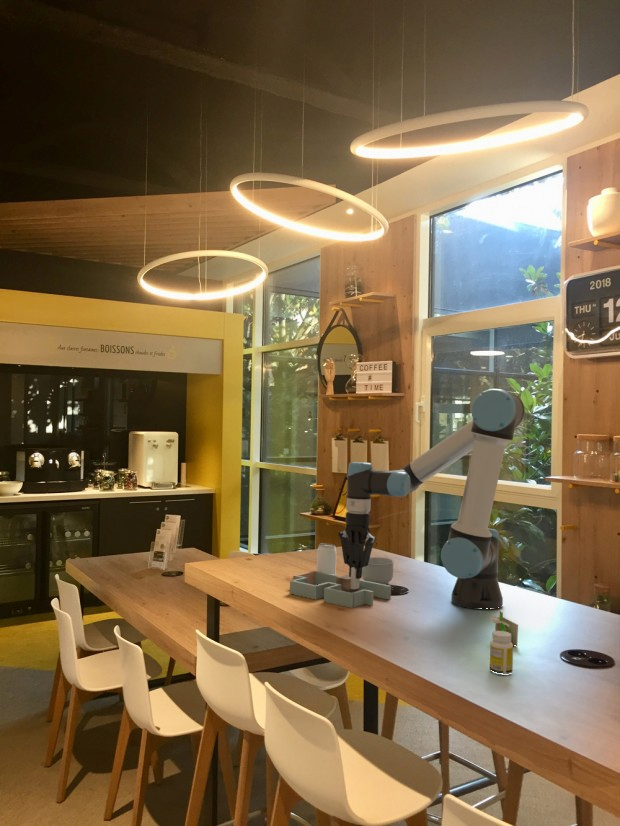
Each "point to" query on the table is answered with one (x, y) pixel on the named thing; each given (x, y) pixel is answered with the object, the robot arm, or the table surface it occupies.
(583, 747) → the table surface
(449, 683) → the table surface
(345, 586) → the block
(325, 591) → the box
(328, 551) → the can
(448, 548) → the robot arm
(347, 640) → the table surface
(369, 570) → the teacup
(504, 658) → the supplement bottle
